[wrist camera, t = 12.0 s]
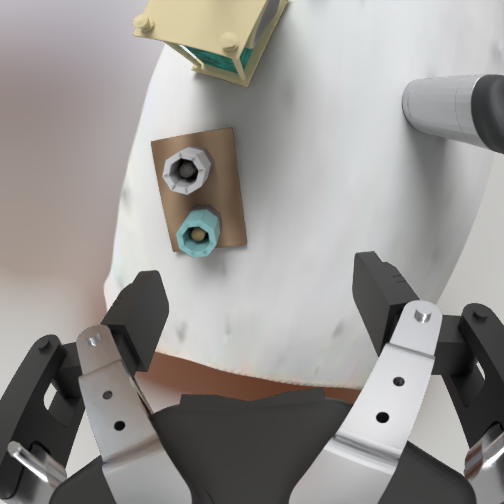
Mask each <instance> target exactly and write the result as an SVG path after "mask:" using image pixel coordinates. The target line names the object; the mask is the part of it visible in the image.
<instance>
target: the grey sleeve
mask: <svg viewBox="0 0 504 504" xmlns="http://www.w3.org/2000/svg"><path fill="white" fill-rule="evenodd" d="M183 159H187V160H191V161H193V162H194V164H195V166H196V167H197V169H198V171H199V172H198V176H197V177H193V176H190V177H188V178H185V177H183V176H181V174H180V167H181V166H182V161H183ZM213 163H214V161H213V159H212V157H211V156H210V154H209V152H208V151H207V149H206V148H202V147H198V146H194V145H190V146H188V147H186V148H185V149H183V150H181V151H179V152H178V153H176V154H175V155H173V156H172V157H170V158H169V159H167V160H166V161H165V166H164V171H163V178H164V180H165V182H166V183H167V185H168V186H169V188H170V190H172V191H174V192H178V193H182V194H186V195H188V194H189V193H191V192H193V191H194V190H196V189H198V188H200V187H201V186H202V185H203V184H204V182H205V181H206V180H207V179H208V178H209V177H210V175H211V171H212V167H213Z"/></svg>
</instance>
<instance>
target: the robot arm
mask: <svg viewBox="0 0 504 504" xmlns="http://www.w3.org/2000/svg"><path fill="white" fill-rule="evenodd" d="M402 104H403V110H404V113H405V116H406V118H407V120H408V121H409V123H410V124H411V125H412V126H413V127H414V128H415V129H416V130H418V131H420V132H422V133H426V134H430V135H435V136H439V137H443V138H448V139H452V140H456V141H460V142H464V143H468V144H471V145H475V146H478V147H482V148H486V149H489V150H492V151H495V152H498V153H502V154H504V76H503V75H466V76H450V77H438V78H428V79H419V80H415V81H413V82H411V83H410V84H409V85H408V86H407V87H406V89H405V91H404V94H403V100H402ZM352 291H353V298H354V301H355V303H356V306H357V308H358V310H359V312H360V315H361V317H362V319H363V322H364V324H365V326H366V329H367V331H368V333H369V336H370V338H371V341H372V343H373V345H374V348H375V350H376V353H377V355H378V357H379V359H378V361H377V363H376V365H375V367H374V369H373V371H372V373H371V375H370V377H369V378H368V380H367V382H366V384H365V386H364V388H363V390H362V391H361V393H360V395H359V397H358V399H357V400H356V402H355V404H351V403H349V402H346V401H343V400H340V399H334V398H327V397H325V395H324V390H323V388H315V389H306V390H297V391H288V392H284V393H281V394H277V395H274V396H270V397H266V398H263V399H259V400H255V401H244V400H238V399H233V398H228V397H223V396H218V395H188V394H182V396H181V400H180V404H178V405H174V406H170V407H167V408H164V409H162V410H160V411H158V412H156V413H153V411H152V409H151V407H150V405H149V404H148V402H147V400H146V398H145V396H144V394H143V392H142V390H141V388H140V386H139V384H138V382H137V380H136V379H135V377H134V376H135V373H136V371H141V372H147V371H148V369H149V366H150V363H151V360H152V357H153V355H154V352H155V349H156V347H157V344H158V341H159V338H160V336H161V333H162V330H163V328H164V325H165V323H166V320H167V317H168V314H169V303H168V299H167V296H166V293H165V289H164V286H163V283H162V279H161V276H160V273H159V272H158V271H157V270H152V271H141V272H139V273H138V275H137V276H136V278H135V280H134V281H133V283H132V284H129V285H128V286H126V287H125V288H124V289H123V290H122V291H121V292H120V294H119V295H118V297H117V300H115V301H114V303H113V306H111V308H110V309H109V311H108V312H107V314H106V316H105V317H104V319H103V321H102V322H101V324H100V325H94V326H91V327H88V328H87V329H85V330H84V331H83V332H81V334H80V335H79V336H78V338H77V340H76V342H74V343H69V344H64V345H62V344H61V342H60V340H59V338H58V337H57V336H56V335H46V336H43V337H42V338H40V339H39V340H37V341H36V342H35V343H34V344H33V346H32V347H31V349H30V350H29V352H28V354H27V355H26V357H25V358H24V360H23V362H22V363H21V365H20V367H19V368H18V370H17V371H16V373H15V375H14V377H13V378H12V380H11V382H10V384H9V385H8V387H7V389H6V391H5V393H4V394H3V396H2V398H1V400H0V499H1V500H2V501H4V502H6V503H7V504H504V325H503V324H502V323H501V321H500V320H499V319H498V317H497V316H496V315H495V313H494V312H493V311H492V310H491V309H490V308H488V307H486V306H485V305H482V304H478V303H472V304H468V305H467V306H465V307H464V309H463V312H462V315H461V316H451V315H442V312H441V310H440V309H439V308H438V307H437V306H436V305H434V304H433V303H431V302H428V301H423V300H420V299H419V298H418V296H417V295H416V294H415V292H414V291H413V290H412V288H411V287H410V285H409V284H408V283H407V282H406V280H405V279H404V277H403V276H402V275H401V273H400V272H399V271H398V269H397V268H396V267H394V266H393V265H391V264H389V263H388V262H382V261H381V260H380V258H379V257H378V256H377V254H376V253H375V252H374V251H370V252H360V253H356V254H355V258H354V272H353V285H352ZM478 361H479V363H480V365H481V367H482V369H483V371H484V373H485V380H484V378H483V376H482V374H481V372H480V370H479V368H478V367H477V365H476V364H477V362H478ZM430 375H441V376H442V378H443V380H444V382H445V385H446V387H447V390H448V392H449V394H450V397H451V399H452V402H453V404H454V407H455V409H456V412H457V414H458V417H459V419H460V422H461V425H462V428H463V431H464V433H465V436H466V439H467V442H468V445H469V448H470V450H469V451H468V453H467V455H466V458H465V469H464V476H465V477H464V476H463V475H462V474H460V473H459V472H457V471H455V470H454V469H452V468H450V467H449V466H447V465H445V464H444V463H442V462H441V461H439V460H437V459H436V458H434V457H432V456H431V455H429V454H428V453H426V452H425V451H423V450H422V449H420V448H418V447H417V446H415V445H414V444H412V443H411V442H409V441H408V437H409V435H410V432H411V430H412V427H413V425H414V422H415V420H416V417H417V414H418V412H419V409H420V406H421V403H422V400H423V397H424V394H425V391H426V388H427V385H428V382H429V379H430ZM50 383H52V385H53V386H54V387H55V389H56V390H57V392H56V394H55V396H54V398H53V400H52V403H51V405H50V407H49V409H48V410H47V409H46V408H45V405H44V395H45V393H46V391H47V389H48V387H49V385H50ZM85 408H86V411H87V415H88V418H89V421H90V425H91V428H92V431H93V434H94V437H95V440H96V443H97V445H98V448H99V451H100V454H101V455H100V456H98V457H97V458H96V459H94V460H93V461H91V462H90V463H89V464H87V465H86V466H85V467H83V468H82V469H80V470H79V471H78V472H76V473H75V474H73V475H72V476H71V477H70V478H68V479H67V473H66V470H65V468H66V465H67V462H68V458H69V455H70V452H71V449H72V446H73V442H74V439H75V436H76V433H77V431H78V427H79V425H80V422H81V419H82V416H83V413H84V411H85Z"/></svg>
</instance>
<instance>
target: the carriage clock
mask: <svg viewBox="0 0 504 504" xmlns="http://www.w3.org/2000/svg"><path fill="white" fill-rule="evenodd" d="M287 2H288V0H150V1H149V3H148V5H147V7H146V9H145V11H144V13H143V14H142V15H138V16H137V17H136V18H135V19H134V20H133V26H135V27H136V30H135V32H134V34H133V35H134V36H136V37H143V38H149V39H155V40H160V41H163V42H165V43H166V44H168V45H169V46H170V47H172V48H173V49H175V50H176V51H177V52H179V53H180V54H181V55H183V56H184V57H185V58H187V59H188V60H189V61H191V62H192V63H193V64H194V65H193V67H192V71H196V72H200V73H203V74H207V75H210V76H213V77H217V78H220V79H223V80H226V81H229V82H232V83H235V84H238V85H241V86H244V87H247V88H248V85H249V83H250V81H251V78H252V76H253V74H254V72H255V69H256V67H257V65H258V63H259V60H260V58H261V56H262V54H263V52H264V49H265V47H266V45H267V43H268V41H269V39H270V37H271V35H272V32H273V30H274V28H275V26H276V24H277V22H278V20H279V18H280V16H281V14H282V12H283V10H284V8H285V6H286V4H287ZM178 44H179V45H183V46H185V47H186V48H187V49H188V50H189V51H191V52H192V53H193V54H194V55H195V56H196V57H197V58H196V59H195V58H193V57H192V56H191V55H190V54H189V53H187V52H186V51H185V50H184V49H183V48H181V47H180V46H179V45H178Z"/></svg>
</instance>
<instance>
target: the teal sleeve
mask: <svg viewBox="0 0 504 504" xmlns="http://www.w3.org/2000/svg"><path fill="white" fill-rule="evenodd" d="M197 226H199V227H201V228H202V229H204V230H205V231H206V232H208V233H206V234H205V236H204V238H203V239H202V240H201V241H196V240H194V239H193V238H192V231H193V229H194V227H197ZM221 230H222V220H221V214H220V212H218V211H217V210H215V209H214V208H213V207H211V206H210V205H209V204H207V205H199V206H194V207H193V208H192V209H191V211H190V212H189V214H188V215H187V216H186V218H185V219H184V221H183V224H182V225H181V227H180V228H179V230H178V232H177V233H176V236H177V241H178V245H179V248H180V249H181V250H182V251H184V252H185V253H186V254H188V255H189V256H191V257H203V256H208V255H209V253H210V252H211V251H212V250H213V249H214V247H215V246H216V245H217V241H218V238H219V234H220V233H221Z"/></svg>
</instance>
